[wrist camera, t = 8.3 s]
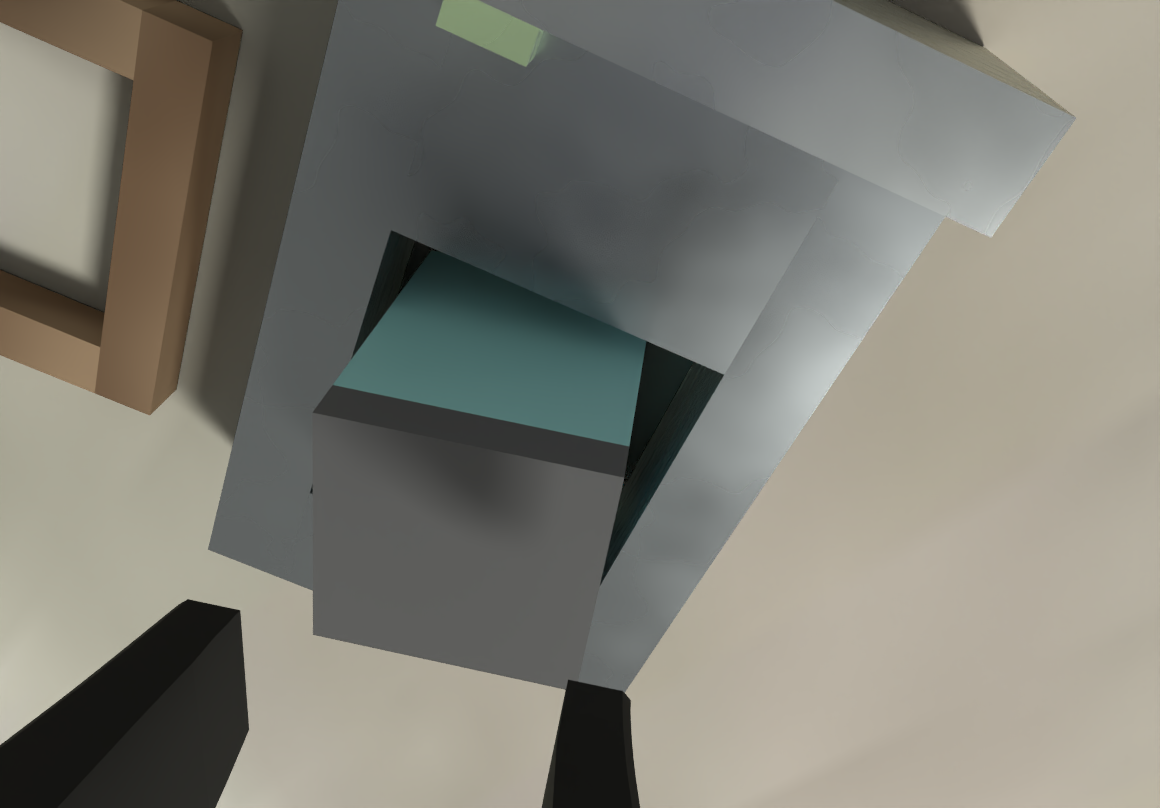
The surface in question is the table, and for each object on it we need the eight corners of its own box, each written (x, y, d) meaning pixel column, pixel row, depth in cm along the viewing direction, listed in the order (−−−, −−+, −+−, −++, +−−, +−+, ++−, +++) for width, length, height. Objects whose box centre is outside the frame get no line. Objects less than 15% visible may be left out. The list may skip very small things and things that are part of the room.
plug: (653, 294, 16) (624, 477, 11) (614, 474, 18) (575, 691, 13) (431, 249, 16) (311, 411, 11) (418, 434, 18) (313, 634, 14)
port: (986, 48, 13) (1076, 118, 10) (625, 621, 20) (605, 779, 17) (446, -213, 12) (341, -237, 9) (262, 475, 19) (163, 609, 16)
